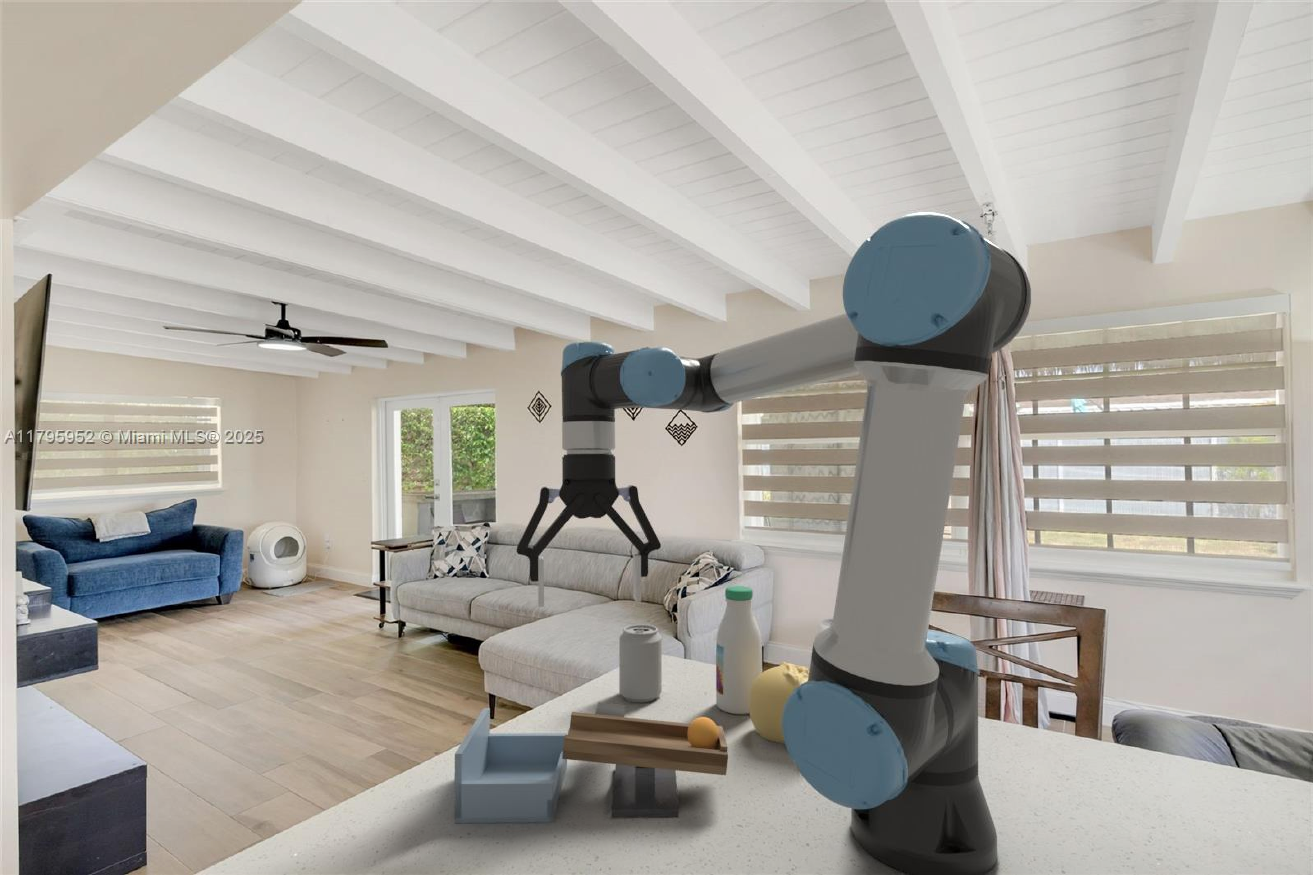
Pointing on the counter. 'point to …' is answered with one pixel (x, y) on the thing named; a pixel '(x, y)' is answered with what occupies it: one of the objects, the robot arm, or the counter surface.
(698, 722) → the ball
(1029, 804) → the counter surface
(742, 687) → the milk bottle
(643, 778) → the pivot stand
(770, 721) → the sculpture
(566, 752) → the seesaw chute
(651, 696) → the can
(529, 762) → the box
